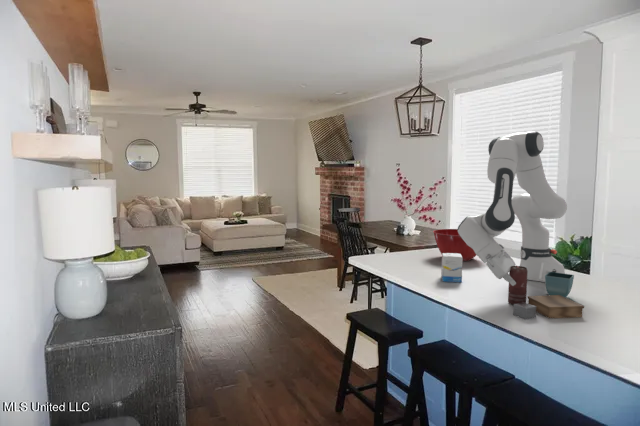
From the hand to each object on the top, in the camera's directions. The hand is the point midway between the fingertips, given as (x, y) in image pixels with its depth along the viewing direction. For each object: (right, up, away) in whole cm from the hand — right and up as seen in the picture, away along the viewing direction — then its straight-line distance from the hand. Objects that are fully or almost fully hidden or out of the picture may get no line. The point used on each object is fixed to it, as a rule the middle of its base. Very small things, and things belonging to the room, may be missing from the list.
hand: (517, 281), depth 157 cm
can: (0, -9, +1) cm, 9 cm away
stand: (+9, -9, -8) cm, 16 cm away
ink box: (-14, -5, +35) cm, 38 cm away
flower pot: (+20, -8, +9) cm, 24 cm away
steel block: (-3, -10, -13) cm, 16 cm away
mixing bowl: (+5, 0, +81) cm, 81 cm away
